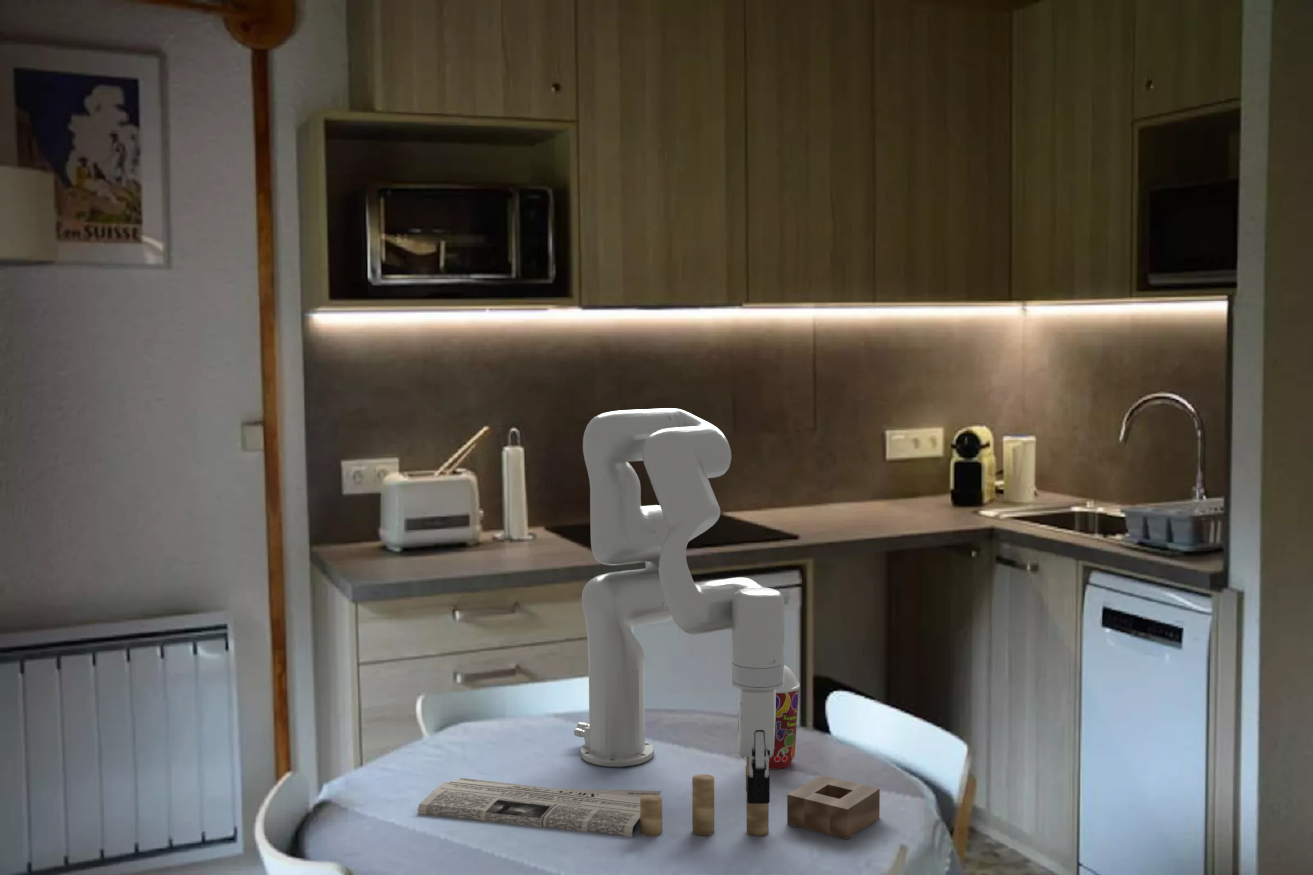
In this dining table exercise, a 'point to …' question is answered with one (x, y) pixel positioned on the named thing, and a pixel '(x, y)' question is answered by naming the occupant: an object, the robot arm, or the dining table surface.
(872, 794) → the collar
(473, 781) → the newspaper
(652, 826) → the short dowel
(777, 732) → the smoothie
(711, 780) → the medium dowel
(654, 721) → the dining table surface
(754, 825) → the long dowel
